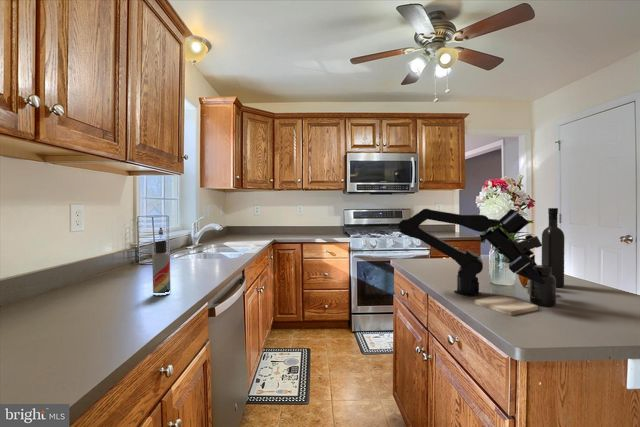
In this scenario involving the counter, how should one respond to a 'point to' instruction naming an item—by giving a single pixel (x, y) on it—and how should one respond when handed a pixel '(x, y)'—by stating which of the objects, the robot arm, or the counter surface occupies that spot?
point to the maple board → (506, 305)
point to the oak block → (528, 287)
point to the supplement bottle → (543, 287)
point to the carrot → (523, 280)
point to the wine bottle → (554, 247)
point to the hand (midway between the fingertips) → (544, 280)
